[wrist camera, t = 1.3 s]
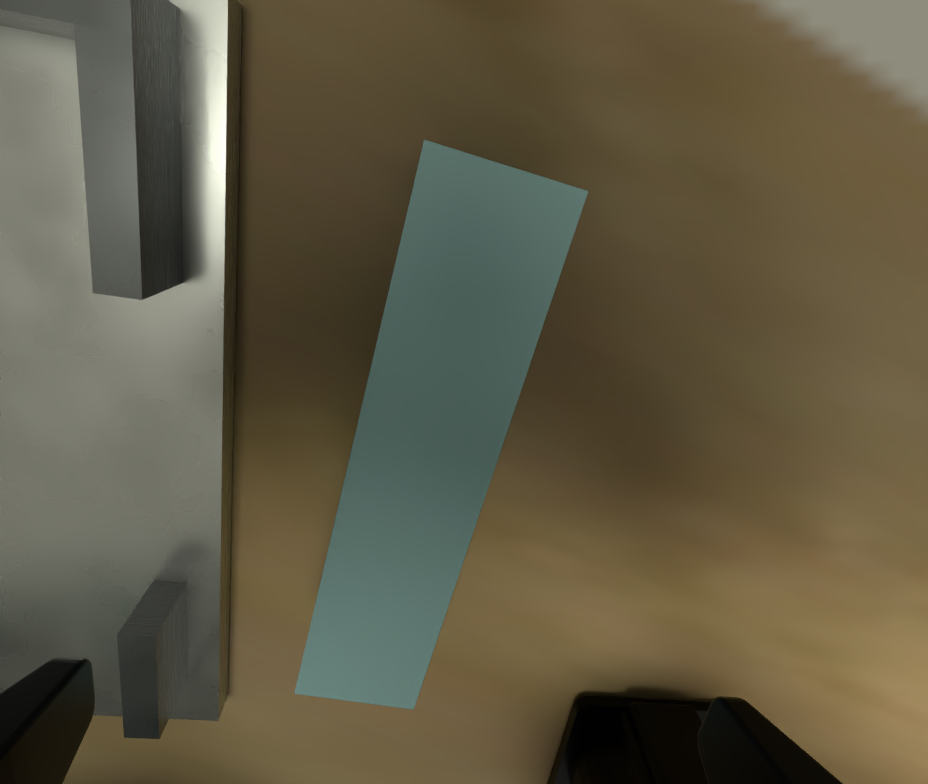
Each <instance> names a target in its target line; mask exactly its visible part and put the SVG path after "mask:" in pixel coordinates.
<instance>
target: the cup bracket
mask: <svg viewBox="0 0 928 784" xmlns="http://www.w3.org/2000/svg"><path fill="white" fill-rule="evenodd" d="M241 34H242V5H241V4H240V3H239V2H238V1H237V0H0V693H1V692H3V691H4V690H6V689H7V688H9V687H10V686H11V685H13V684H14V683H16V682H17V681H19V680H20V679H22V678H23V677H25V676H26V675H28V674H29V673H31V672H32V671H34V670H35V669H37V668H38V667H40V666H41V665H43V664H44V663H46V662H47V661H49V660H51V659H53V658H56V657H78V658H86V659H88V660H89V661H90V662H91V664H92V671H93V682H94V693H95V709H94V713H93V715H102V716H123V727H124V737H125V738H149V739H160V737H161V735H162V732H163V730H164V728H165V726H166V724H167V722H168V720H169V719H189V720H211V721H219V718H220V715H221V713H222V710H223V707H224V705H225V702H226V699H227V697H228V657H229V609H230V562H231V514H232V466H233V418H234V370H235V322H236V274H237V226H238V178H239V130H240V82H241Z"/></svg>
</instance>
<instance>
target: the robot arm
mask: <svg viewBox="0 0 928 784" xmlns="http://www.w3.org/2000/svg"><path fill="white" fill-rule="evenodd" d="M94 709H95V693H94V682H93V671H92V664H91V662H90V661H89V660H88V659H86V658H78V657H56V658H53V659H51V660H49V661H47V662H46V663H44V664H43V665H41V666H40V667H38V668H37V669H35V670H34V671H32V672H31V673H29V674H28V675H26V676H25V677H23V678H22V679H20V680H19V681H17V682H16V683H14V684H13V685H11V686H10V687H9V688H7V689H6V690H4V691H3V692H1V693H0V784H62V783H63V781H64V779H65V776H66V774H67V772H68V770H69V768H70V766H71V763H72V761H73V759H74V757H75V755H76V753H77V750H78V748H79V746H80V744H81V742H82V740H83V737H84V735H85V733H86V731H87V729H88V727H89V724H90V722H91V719H92V716H93V713H94ZM549 784H843V783H841V782H840V781H839V780H838V779H837V778H836V777H834V776H833V775H832V774H831V773H830V772H829V771H827V770H826V769H825V768H824V767H823V766H822V765H820V764H819V763H818V762H817V761H816V760H815V759H813V758H812V757H811V756H810V755H809V754H807V753H806V752H805V751H804V750H803V749H802V748H800V747H799V746H798V745H797V744H796V743H795V742H793V741H792V740H791V739H790V738H789V737H788V736H786V735H785V734H784V733H783V732H782V731H781V730H779V729H778V728H777V727H776V726H775V725H774V724H772V723H771V722H770V721H769V720H768V719H767V718H765V717H764V716H763V715H762V714H761V713H760V712H758V711H757V710H756V709H755V708H754V707H752V706H751V705H750V704H749V703H748V702H746V701H745V700H743V699H741V698H736V697H716V698H715V699H714V700H713V701H712V702H711V703H705V702H687V701H670V700H652V699H634V698H616V697H599V696H584V697H581V698H579V699H578V700H577V701H576V702H575V704H574V706H573V709H572V712H571V715H570V719H569V722H568V725H567V728H566V731H565V734H564V737H563V740H562V743H561V747H560V750H559V753H558V756H557V759H556V762H555V765H554V768H553V771H552V775H551V778H550V781H549Z"/></svg>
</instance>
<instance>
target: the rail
mask: <svg viewBox="0 0 928 784" xmlns="http://www.w3.org/2000/svg"><path fill="white" fill-rule="evenodd" d="M587 194H588V191H586V190H583V189H580V188H577V187H573V186H570V185H567V184H564V183H561V182H557V181H554V180H551V179H548V178H545V177H542V176H538V175H535V174H532V173H529V172H526V171H523V170H519V169H516V168H513V167H510V166H507V165H504V164H500V163H497V162H494V161H491V160H488V159H484V158H481V157H478V156H475V155H472V154H469V153H465V152H462V151H459V150H456V149H453V148H450V147H446V146H443V145H440V144H437V143H434V142H430V141H427V140H424V143H423V147H422V151H421V155H420V160H419V164H418V168H417V173H416V177H415V181H414V185H413V190H412V194H411V198H410V202H409V207H408V211H407V215H406V219H405V224H404V228H403V232H402V237H401V241H400V245H399V249H398V254H397V258H396V262H395V266H394V271H393V275H392V279H391V283H390V288H389V292H388V296H387V301H386V305H385V309H384V313H383V318H382V322H381V326H380V330H379V335H378V339H377V343H376V348H375V352H374V356H373V360H372V365H371V369H370V373H369V377H368V382H367V386H366V390H365V394H364V399H363V403H362V407H361V412H360V416H359V420H358V424H357V429H356V433H355V437H354V441H353V446H352V450H351V454H350V458H349V463H348V467H347V471H346V476H345V480H344V484H343V488H342V493H341V497H340V501H339V505H338V510H337V514H336V518H335V522H334V527H333V531H332V535H331V540H330V544H329V548H328V552H327V557H326V561H325V565H324V569H323V574H322V578H321V582H320V586H319V591H318V595H317V599H316V604H315V608H314V612H313V616H312V621H311V625H310V629H309V633H308V638H307V642H306V646H305V650H304V655H303V659H302V663H301V668H300V672H299V676H298V680H297V685H296V689H295V693H294V694H301V695H308V696H316V697H323V698H331V699H339V700H346V701H354V702H361V703H369V704H376V705H384V706H391V707H399V708H406V709H414V707H415V704H416V701H417V698H418V695H419V692H420V689H421V686H422V683H423V680H424V677H425V674H426V671H427V668H428V665H429V662H430V659H431V656H432V653H433V650H434V647H435V644H436V641H437V638H438V636H439V633H440V630H441V627H442V624H443V621H444V618H445V615H446V612H447V609H448V606H449V603H450V600H451V597H452V594H453V591H454V588H455V585H456V582H457V579H458V576H459V573H460V570H461V567H462V564H463V561H464V558H465V555H466V553H467V550H468V547H469V544H470V541H471V538H472V535H473V532H474V529H475V526H476V523H477V520H478V517H479V514H480V511H481V508H482V505H483V502H484V499H485V496H486V493H487V490H488V487H489V484H490V481H491V478H492V475H493V472H494V470H495V467H496V464H497V461H498V458H499V455H500V452H501V449H502V446H503V443H504V440H505V437H506V434H507V431H508V428H509V425H510V422H511V419H512V416H513V413H514V410H515V407H516V404H517V401H518V398H519V395H520V392H521V389H522V386H523V384H524V381H525V378H526V375H527V372H528V369H529V366H530V363H531V360H532V357H533V354H534V351H535V348H536V345H537V342H538V339H539V336H540V333H541V330H542V327H543V324H544V321H545V318H546V315H547V312H548V309H549V306H550V303H551V301H552V298H553V295H554V292H555V289H556V286H557V283H558V280H559V277H560V274H561V271H562V268H563V265H564V262H565V259H566V256H567V253H568V250H569V247H570V244H571V241H572V238H573V235H574V232H575V229H576V226H577V223H578V220H579V218H580V215H581V212H582V209H583V206H584V203H585V200H586V197H587Z"/></svg>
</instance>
